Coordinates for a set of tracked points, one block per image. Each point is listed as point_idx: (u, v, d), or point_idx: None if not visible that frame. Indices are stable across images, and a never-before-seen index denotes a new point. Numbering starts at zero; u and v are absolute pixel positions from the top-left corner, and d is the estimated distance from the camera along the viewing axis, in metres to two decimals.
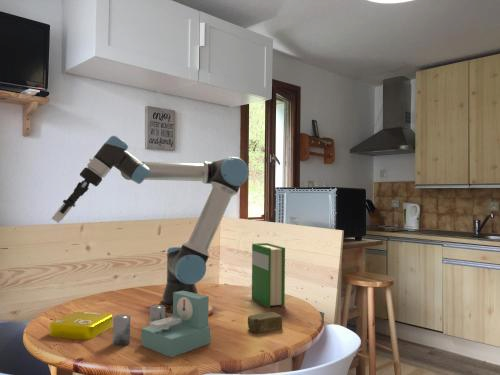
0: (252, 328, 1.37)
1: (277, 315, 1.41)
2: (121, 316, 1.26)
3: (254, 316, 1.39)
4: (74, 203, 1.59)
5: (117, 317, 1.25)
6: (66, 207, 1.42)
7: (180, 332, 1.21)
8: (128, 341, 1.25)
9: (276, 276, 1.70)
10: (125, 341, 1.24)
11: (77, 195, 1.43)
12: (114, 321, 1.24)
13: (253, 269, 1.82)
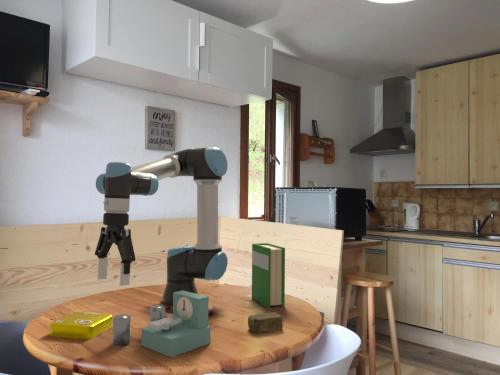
0: (252, 328, 1.37)
1: (277, 315, 1.41)
2: (121, 316, 1.26)
3: (254, 316, 1.39)
4: None
5: (117, 317, 1.25)
6: (128, 265, 1.22)
7: (180, 332, 1.21)
8: (128, 341, 1.25)
9: (276, 276, 1.70)
10: (125, 341, 1.24)
11: (131, 247, 1.22)
12: (114, 321, 1.24)
13: (253, 269, 1.82)
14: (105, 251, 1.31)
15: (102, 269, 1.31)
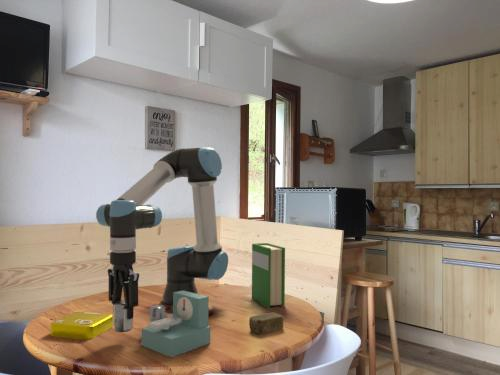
0: (255, 329, 1.36)
1: (278, 315, 1.41)
2: (122, 303, 1.27)
3: (256, 317, 1.38)
4: None
5: (118, 304, 1.26)
6: (132, 310, 1.24)
7: (180, 332, 1.21)
8: None
9: (276, 276, 1.70)
10: None
11: (136, 293, 1.23)
12: (115, 308, 1.24)
13: (253, 269, 1.82)
14: (118, 293, 1.28)
15: None
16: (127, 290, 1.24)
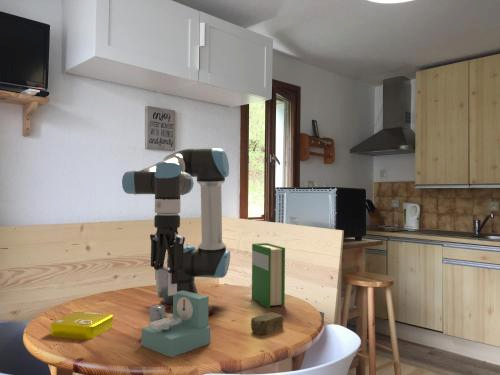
0: (258, 330, 1.35)
1: (278, 315, 1.42)
2: (166, 268, 1.23)
3: (258, 318, 1.37)
4: None
5: (162, 269, 1.22)
6: (176, 275, 1.20)
7: (180, 332, 1.21)
8: None
9: (276, 276, 1.70)
10: None
11: (181, 257, 1.19)
12: (159, 272, 1.21)
13: (253, 269, 1.82)
14: (161, 259, 1.24)
15: None
16: (172, 254, 1.20)
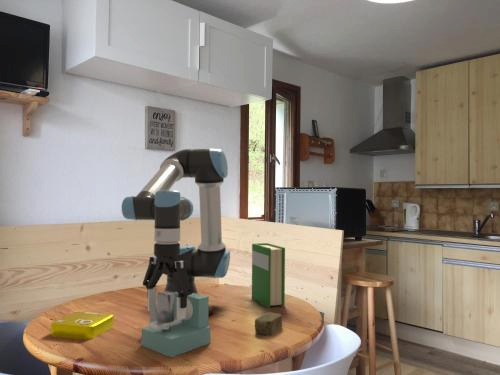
0: (264, 331, 1.34)
1: (277, 314, 1.42)
2: (165, 293, 1.23)
3: (262, 319, 1.36)
4: None
5: (162, 293, 1.22)
6: (185, 299, 1.17)
7: (180, 332, 1.21)
8: (173, 318, 1.22)
9: (276, 276, 1.70)
10: (170, 318, 1.20)
11: (187, 280, 1.18)
12: (159, 297, 1.21)
13: (253, 269, 1.82)
14: (154, 281, 1.26)
15: (152, 300, 1.27)
16: (176, 279, 1.19)
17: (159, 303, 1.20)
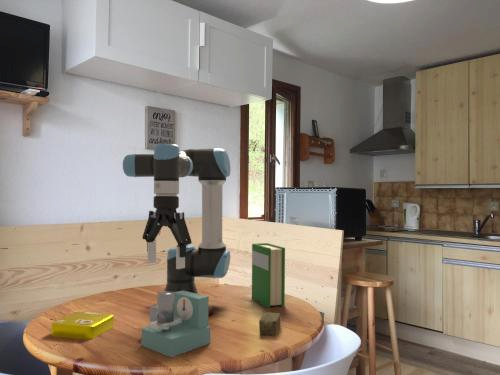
0: (270, 331, 1.34)
1: (276, 314, 1.43)
2: (165, 293, 1.23)
3: (266, 319, 1.36)
4: None
5: (161, 293, 1.22)
6: (184, 248, 1.20)
7: (180, 332, 1.21)
8: (173, 318, 1.22)
9: (276, 276, 1.70)
10: (170, 318, 1.20)
11: (186, 230, 1.20)
12: (159, 297, 1.21)
13: (253, 269, 1.82)
14: (154, 234, 1.29)
15: (152, 252, 1.29)
16: (175, 230, 1.22)
17: (159, 303, 1.20)
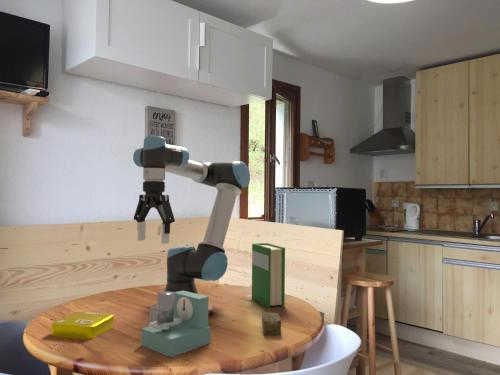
0: (275, 331, 1.34)
1: (274, 313, 1.43)
2: (165, 293, 1.23)
3: (270, 319, 1.35)
4: None
5: (161, 293, 1.22)
6: (169, 226, 1.39)
7: (180, 332, 1.21)
8: (173, 318, 1.22)
9: (276, 276, 1.70)
10: (170, 318, 1.20)
11: (170, 210, 1.40)
12: (159, 297, 1.21)
13: (253, 269, 1.82)
14: (143, 215, 1.48)
15: (141, 231, 1.49)
16: (161, 210, 1.41)
17: (159, 303, 1.20)
